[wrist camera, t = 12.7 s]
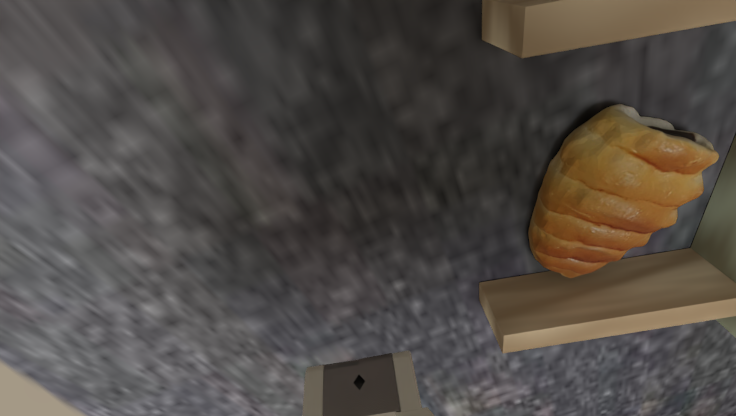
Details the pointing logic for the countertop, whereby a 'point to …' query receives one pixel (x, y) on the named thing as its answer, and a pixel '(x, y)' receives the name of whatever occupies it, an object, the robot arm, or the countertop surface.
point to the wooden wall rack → (631, 275)
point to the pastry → (614, 189)
